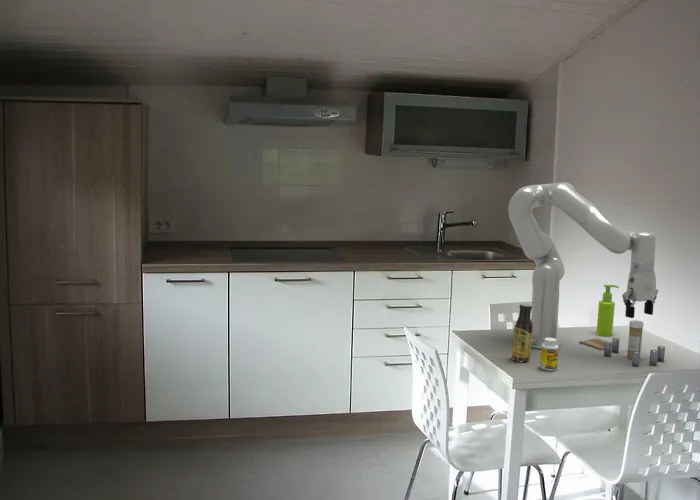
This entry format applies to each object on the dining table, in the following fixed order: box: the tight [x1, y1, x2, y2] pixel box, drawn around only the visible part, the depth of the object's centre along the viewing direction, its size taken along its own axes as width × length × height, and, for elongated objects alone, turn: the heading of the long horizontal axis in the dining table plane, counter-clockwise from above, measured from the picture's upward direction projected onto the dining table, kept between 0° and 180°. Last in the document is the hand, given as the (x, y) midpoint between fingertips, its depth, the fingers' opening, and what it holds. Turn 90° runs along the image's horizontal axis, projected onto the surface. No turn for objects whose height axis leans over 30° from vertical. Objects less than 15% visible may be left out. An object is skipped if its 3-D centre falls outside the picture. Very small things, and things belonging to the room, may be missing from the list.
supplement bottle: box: [539, 338, 560, 372], centre depth 233 cm, size 6×6×10 cm
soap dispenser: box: [595, 284, 620, 337], centre depth 276 cm, size 6×7×20 cm
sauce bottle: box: [511, 302, 533, 362], centre depth 241 cm, size 7×6×20 cm
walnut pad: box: [579, 337, 612, 351], centre depth 263 cm, size 10×10×1 cm
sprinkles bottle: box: [626, 319, 644, 360], centre depth 246 cm, size 5×5×14 cm
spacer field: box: [603, 337, 666, 368], centre depth 247 cm, size 15×18×5 cm
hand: (639, 315), depth 244 cm, fingers open, 9 cm apart
